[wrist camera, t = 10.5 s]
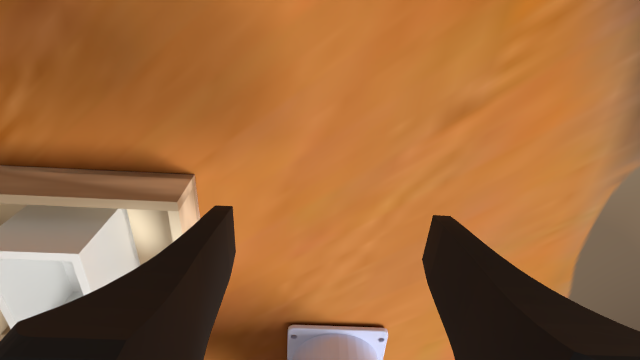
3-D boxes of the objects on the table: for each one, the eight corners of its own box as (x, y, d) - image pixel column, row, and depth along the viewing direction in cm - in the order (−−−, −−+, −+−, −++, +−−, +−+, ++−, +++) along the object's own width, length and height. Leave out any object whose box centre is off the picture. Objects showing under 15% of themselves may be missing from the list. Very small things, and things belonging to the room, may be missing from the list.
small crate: (147, 293, 27) (113, 355, 22) (72, 291, 26) (23, 353, 22) (124, 201, 23) (78, 254, 18) (36, 197, 23) (-31, 250, 18)
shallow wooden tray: (211, 310, 28) (199, 346, 26) (27, 303, 28) (-6, 340, 25) (194, 174, 23) (177, 202, 20) (-38, 163, 22) (-90, 190, 19)
